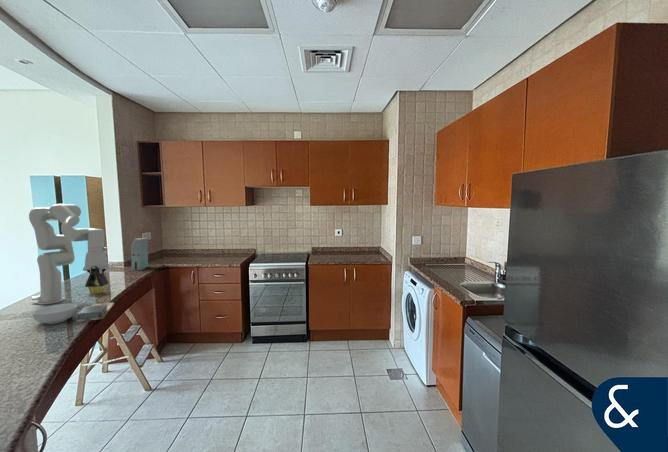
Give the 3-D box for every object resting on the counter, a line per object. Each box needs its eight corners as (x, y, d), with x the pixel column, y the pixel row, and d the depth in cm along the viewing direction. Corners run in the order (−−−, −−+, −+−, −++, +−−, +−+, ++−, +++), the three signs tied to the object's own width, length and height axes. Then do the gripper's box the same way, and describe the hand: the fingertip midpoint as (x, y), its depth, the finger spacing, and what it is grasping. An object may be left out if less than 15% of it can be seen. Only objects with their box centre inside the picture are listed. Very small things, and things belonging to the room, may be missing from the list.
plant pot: (101, 289, 207) (101, 276, 207) (108, 292, 202) (107, 278, 201) (83, 292, 198) (83, 279, 198) (89, 295, 193) (89, 281, 193)
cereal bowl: (74, 313, 162) (74, 301, 161) (80, 321, 151) (80, 308, 151) (31, 321, 148) (31, 308, 148) (34, 330, 138) (34, 316, 138)
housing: (77, 319, 149) (77, 313, 149) (84, 312, 160) (84, 306, 159) (101, 316, 153) (101, 311, 153) (106, 309, 164) (106, 304, 164)
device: (139, 266, 287) (139, 237, 286) (148, 266, 289) (147, 237, 287) (131, 270, 271) (131, 239, 269) (140, 270, 273) (140, 239, 271)
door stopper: (85, 287, 164) (84, 266, 164) (91, 284, 170) (90, 264, 170) (102, 286, 166) (102, 266, 166) (108, 283, 172) (107, 264, 172)
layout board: (76, 321, 150) (76, 319, 149) (91, 306, 173) (91, 304, 173) (102, 318, 155) (102, 316, 154) (114, 304, 178) (114, 302, 178)
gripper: (114, 248, 174) (115, 277, 175) (80, 249, 167) (81, 280, 168) (111, 249, 167) (112, 280, 168) (76, 251, 160) (77, 282, 161)
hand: (96, 279), depth 168 cm, fingers closed on door stopper
